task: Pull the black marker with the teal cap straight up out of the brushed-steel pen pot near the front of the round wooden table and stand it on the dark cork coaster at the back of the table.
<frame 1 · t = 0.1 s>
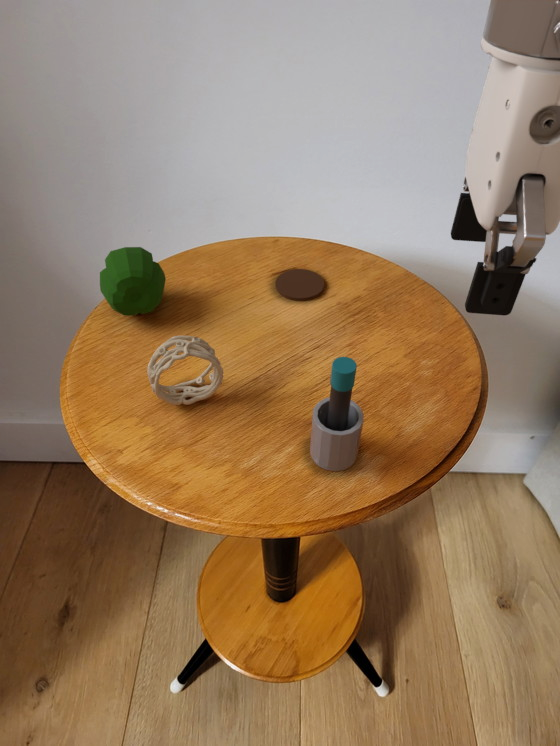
hand: (477, 272, 44), 23 cm above the table, tool pointing down, fingers open, 9 cm apart
coaster: (299, 285, 81), on the table
bell pepper: (136, 299, 71), point 5 cm above the table
bracelet: (188, 397, 66), on the table
marker: (333, 449, 60), resting on pot
pot: (333, 451, 60), on the table
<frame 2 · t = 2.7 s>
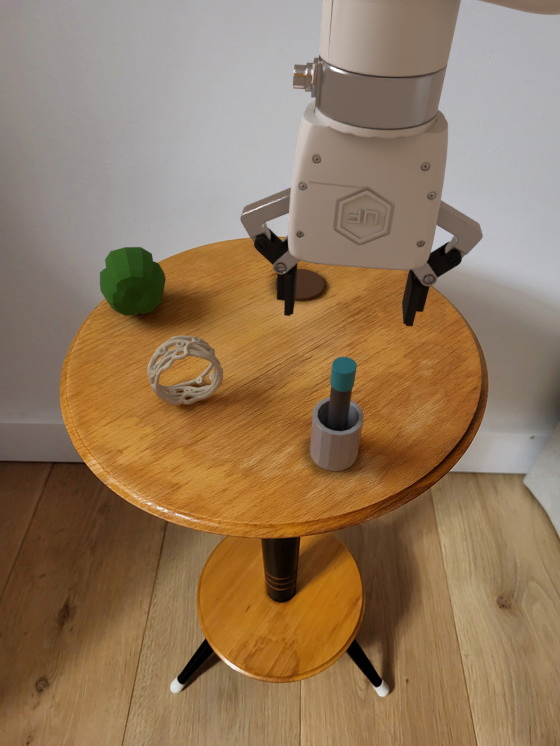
hand: (348, 310, 47), 19 cm above the table, tool pointing down, fingers open, 9 cm apart
nothing on the table moved.
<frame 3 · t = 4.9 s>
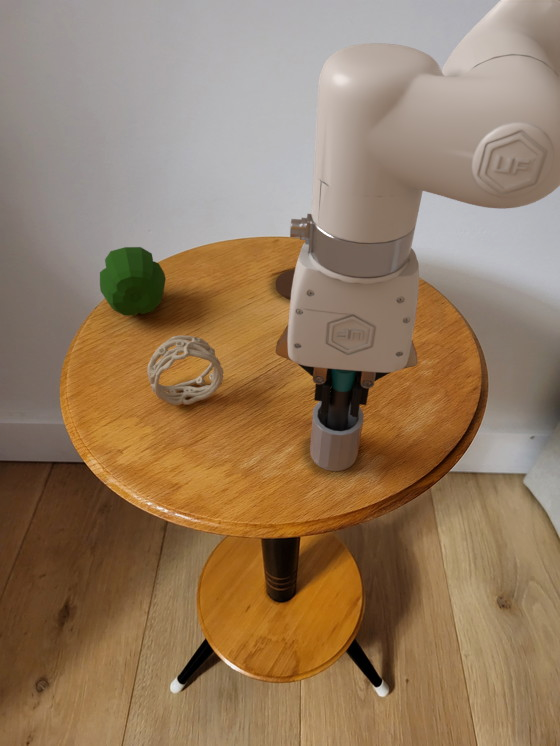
hand: (339, 403, 55), 8 cm above the table, tool pointing down, fingers closed on marker, 2 cm apart
marker: (333, 449, 60), point 1 cm above the table, touching gripper, pot
everything else where it was.
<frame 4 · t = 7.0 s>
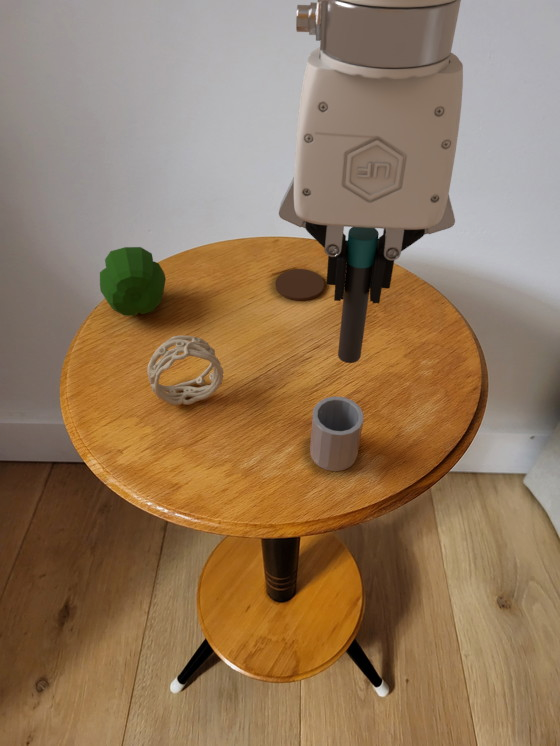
hand: (356, 290, 45), 21 cm above the table, tool pointing down, fingers closed on marker
marker: (349, 355, 50), point 14 cm above the table, touching gripper
everything else where it was.
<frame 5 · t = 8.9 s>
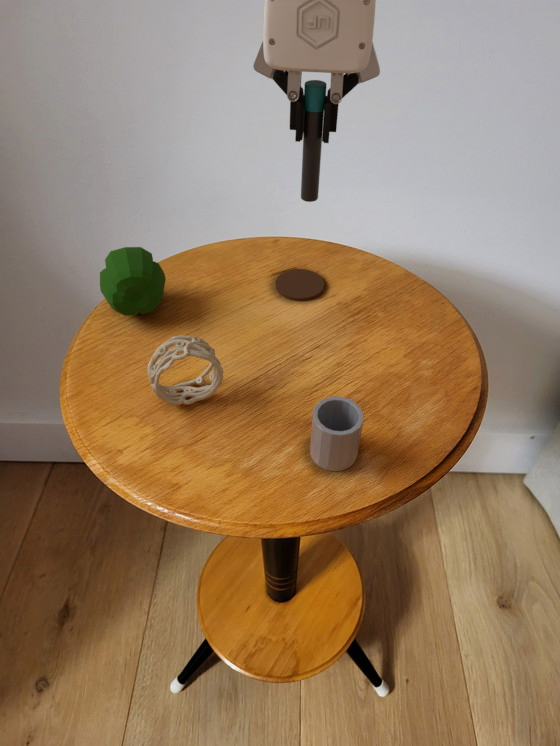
hand: (312, 135, 60), 24 cm above the table, tool pointing down, fingers closed on marker
marker: (309, 197, 65), point 16 cm above the table, touching gripper
everything else where it was.
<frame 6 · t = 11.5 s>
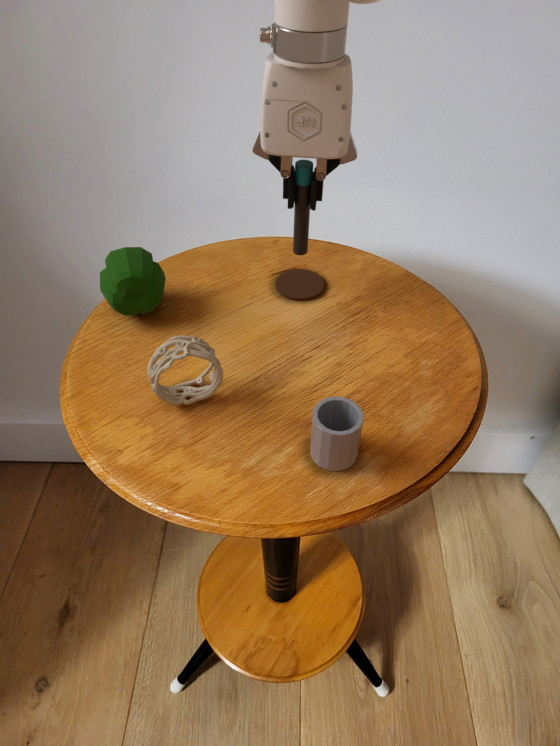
hand: (302, 203, 72), 13 cm above the table, tool pointing down, fingers closed on marker
marker: (300, 251, 77), point 6 cm above the table, touching gripper
everything else where it was.
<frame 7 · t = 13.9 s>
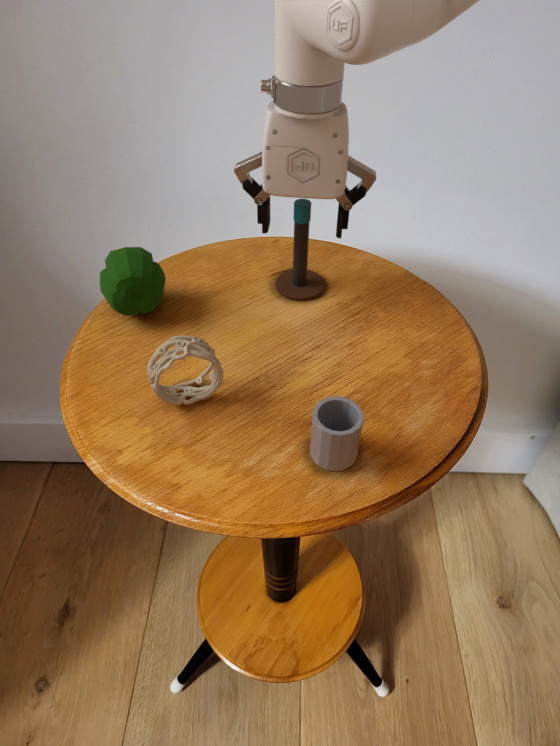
hand: (302, 230, 74), 9 cm above the table, tool pointing down, fingers open, 9 cm apart
marker: (299, 282, 80), resting on coaster
everything else where it was.
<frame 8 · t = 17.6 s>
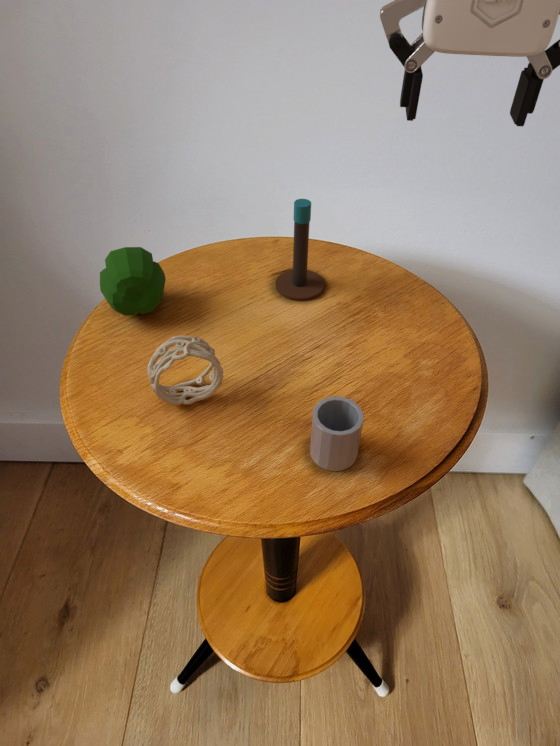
hand: (462, 117, 52), 28 cm above the table, tool pointing down, fingers open, 9 cm apart
nothing on the table moved.
at the end: marker inside the target area on the coaster (0.1 cm from its centre), point 0.5 cm above the coaster's base; marker touching coaster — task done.
